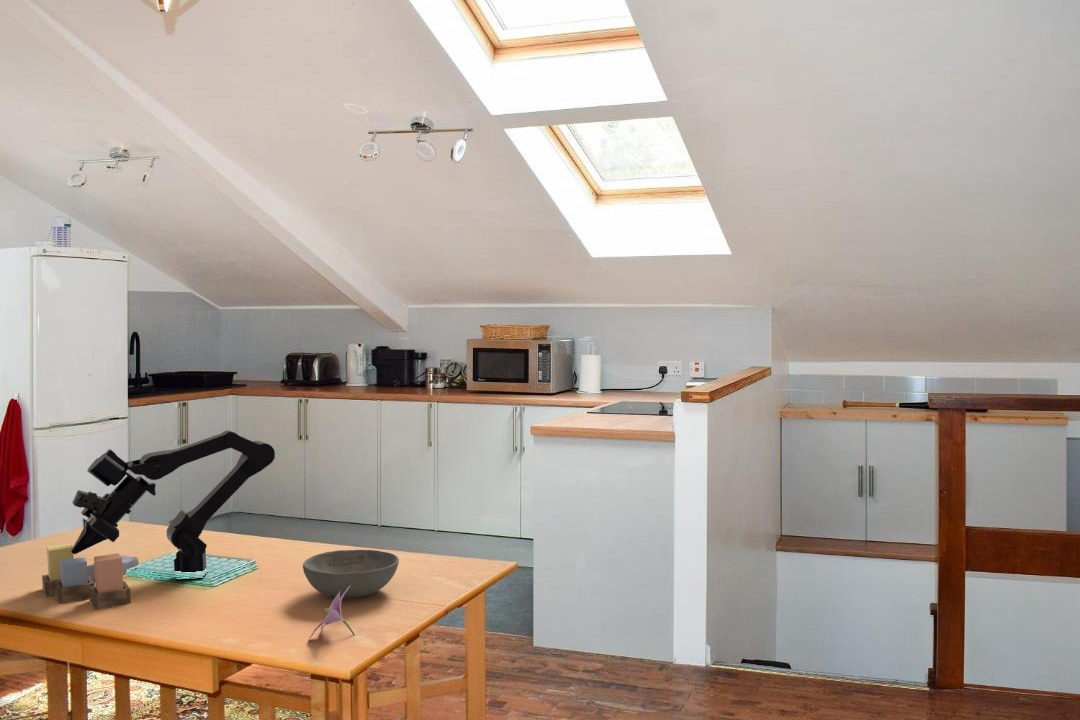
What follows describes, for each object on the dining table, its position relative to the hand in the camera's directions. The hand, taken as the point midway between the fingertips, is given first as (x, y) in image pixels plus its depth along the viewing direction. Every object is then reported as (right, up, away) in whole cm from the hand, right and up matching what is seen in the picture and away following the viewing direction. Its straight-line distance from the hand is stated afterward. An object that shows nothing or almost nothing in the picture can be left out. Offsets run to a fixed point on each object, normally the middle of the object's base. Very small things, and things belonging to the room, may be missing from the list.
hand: (72, 552), depth 212 cm
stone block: (-1, -10, +19) cm, 21 cm away
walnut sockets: (+3, -10, +1) cm, 10 cm away
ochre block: (-5, -7, +6) cm, 11 cm away
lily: (+66, -10, -29) cm, 73 cm away
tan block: (+11, -7, -5) cm, 14 cm away
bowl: (+64, -9, -3) cm, 65 cm away
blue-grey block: (0, -9, +1) cm, 9 cm away
